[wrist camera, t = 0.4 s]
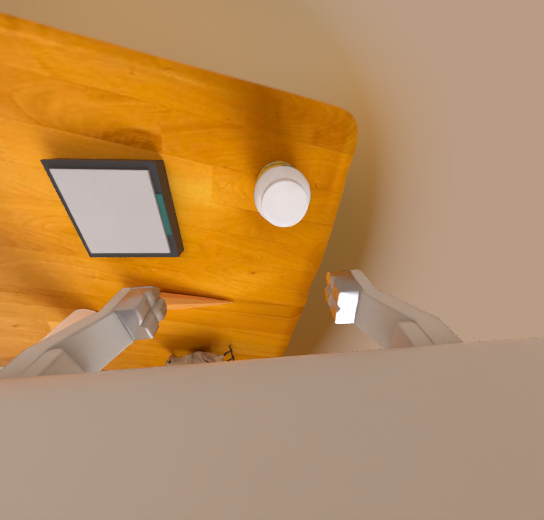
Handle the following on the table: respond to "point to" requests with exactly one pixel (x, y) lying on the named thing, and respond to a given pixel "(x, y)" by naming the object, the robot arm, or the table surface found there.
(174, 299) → the carrot
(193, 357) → the decorative bird
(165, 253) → the scale
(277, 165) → the pill bottle
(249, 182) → the table surface
